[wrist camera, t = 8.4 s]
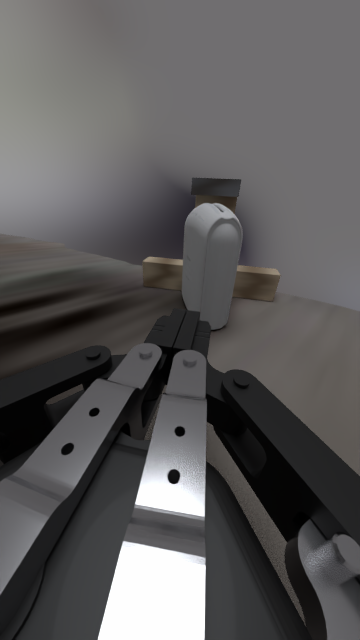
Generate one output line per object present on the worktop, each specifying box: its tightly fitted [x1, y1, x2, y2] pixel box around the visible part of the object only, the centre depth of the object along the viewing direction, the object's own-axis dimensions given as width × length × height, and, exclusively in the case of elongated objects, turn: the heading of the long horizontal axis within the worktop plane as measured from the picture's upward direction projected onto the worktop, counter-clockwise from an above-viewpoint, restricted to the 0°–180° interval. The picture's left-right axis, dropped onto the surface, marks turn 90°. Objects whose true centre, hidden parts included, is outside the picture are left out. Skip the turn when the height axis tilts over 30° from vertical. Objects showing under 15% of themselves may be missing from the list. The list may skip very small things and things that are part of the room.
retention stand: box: [143, 178, 280, 302], centre depth 28 cm, size 20×7×14 cm, turn 79°
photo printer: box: [182, 203, 243, 330], centre depth 24 cm, size 10×4×12 cm, turn 10°
